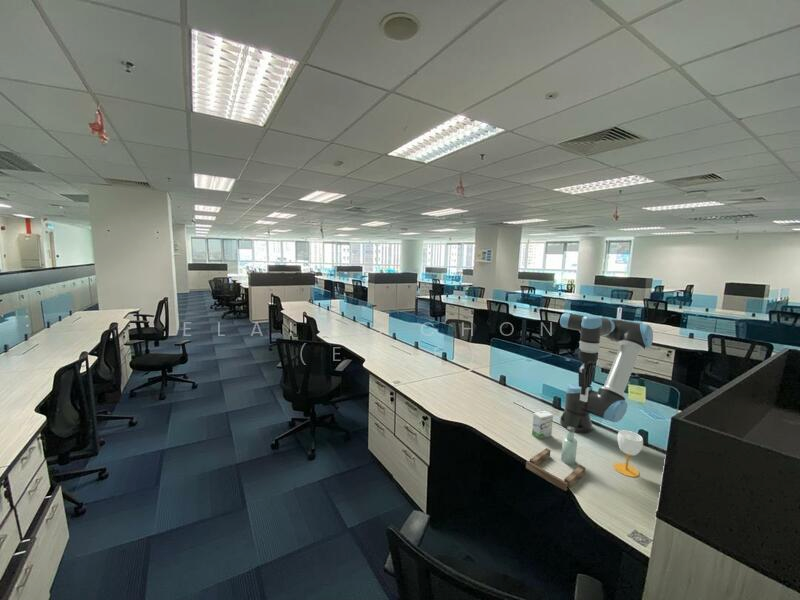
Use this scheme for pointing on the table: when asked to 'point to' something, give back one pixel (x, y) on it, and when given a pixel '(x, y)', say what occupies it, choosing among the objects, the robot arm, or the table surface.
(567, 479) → the u rest
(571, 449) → the bottle
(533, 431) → the ink box
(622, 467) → the cup
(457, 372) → the table surface
